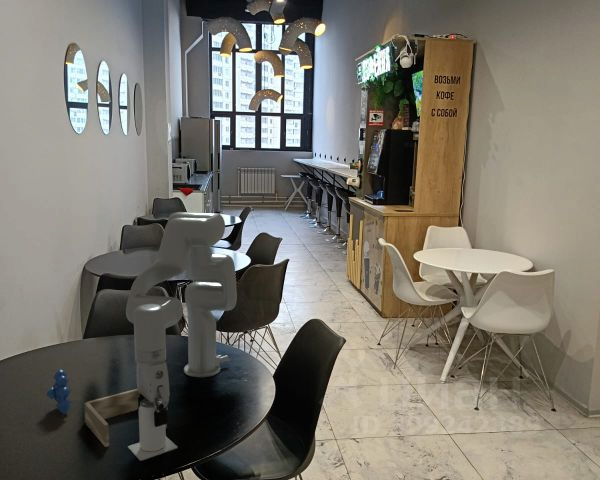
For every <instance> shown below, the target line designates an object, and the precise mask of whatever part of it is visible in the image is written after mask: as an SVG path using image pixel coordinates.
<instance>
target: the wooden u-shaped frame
mask: <svg viewBox="0 0 600 480" xmlns="http://www.w3.org/2000/svg"><path fill="white" fill-rule="evenodd" d="M137 392H138V389H137V388H135V389H134V388H133V389H132V390H127V391H123V392H120V393H116V394H112V395H108V396H105V397H100V398H97V399H93V400H89V401H86V402H83V410H84V411H83V412H84V424H85V423H86V424H85V425H86V426H87V428H89V430H90V429H91V430H90V431H91V432H92V433H93V435H94V436H95V437H96V438H97V439H98V440H99V441H100V443H101V444H102V445H103V446H104V448H107V447H109V446H110V431H109V427H110V426H109V423H108V422H107V421H106V419H110V418H114V417H116V416H120V415H124V414H127V413H131V412H134V411H137V409H138V397H140V396H138V395H137ZM130 411H131V412H130ZM165 428H166V429H167V428H168V423H167V424H165Z"/></svg>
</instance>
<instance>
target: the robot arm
mask: <svg viewBox="0 0 600 480" xmlns="http://www.w3.org/2000/svg"><path fill="white" fill-rule="evenodd" d="M167 219H168V220H167V223H166V224H165V227H164V231H163V234H162V237H161V242H160V246H159V250H158V253H157V257H156V260H155V261H154V262H152V264H150V265H148V266H147V267H146V268H145V269H144V270H143V271H141V273H140V274H138V276H137V277H136V278H135V280H134V281H133V283H132V286H131V288H130V291H129V295H128V298H127V301H126V302H127V303H126V307H125V316H126V319H127V320H128V321H129V322H130V323H132V324H133V333H134V334H133V337H134V338H133V339H134V361H135V363H136V375H135V381H136V389H138V392H137V395H138V396H140V397H138V411H137V412H139V407H140V402H141V401H142V400H144V399H148V400H149V401H150V402H153V404H154V407H155V411H154V426H155V427H158V426H161V425H164V424H167V425H168V409H169V408H168V407H169V405H170V404H169V402H170V395H171V394H170V380H169V371H168V365H167V361H166V360H167V339H166V336H167V335H166V329H169V328H170V327H173V326H175V325H176V324H178V323H179V321H180V320H181V319H182V317H183V313H184V306H183V303H182V301H181V300H180V299H178V298H177V297H173V296H159V295H146V294H147V293H148V291H149V290H150V289H152V288H153V287H154V286H156V285H157V284H159V283H162V282H165V281H168V280H170V279H172V278H175V277H178V276H180V275H182V274H183V273H185V272H186V274H187V278H188V279H189V280H190V281H192V282H191V283H189V284H188V285H187V286H186V288H185V291H184V301H185V307H186V312H187V339H188V340H187V343H188V344H187V346H188V348H187V351H188V353H187V354H188V355H187V356H188V363H187V364H186V365H185V366H184V368H183V372H184V374H186V375H187V376H189V377H193V378H206V377H207V378H208V377H212V376H215V375H218V374H219V373H220V372H221V370H222V369H221V363H224V362H228V361H229V358H230V357H229V356H228V355H223V356H222V354H217V320H216V318H215V315H214V314H213V313H212V311H222V312H223V311H224V312H225V311H227V312H228V311H232V310H233V309H235V307H236V305H237V301H238V291H237V290H238V289H237V278H236V275H237V274H236V265H235V260H234V259H233V257H232V256H231V255H229V254H225V253H223V254H222V253H212V251H211V249H212V247H213V246H215V245H216V244H218V243H219V241H221V240H222V239H223V236H224V235H225V230H226V222H225V219H224V217H223V216H222V214H220V213H216V212H215V213H214V212H194V211H193V212H192V211H190V212H189V211H185V212H183V211H177V212H173V213H171V214H170V215H169V217H168V218H167ZM156 397H157V398H158V399H155V398H156ZM159 401H162V404H160V405H159V407H158V404H157V402H159Z"/></svg>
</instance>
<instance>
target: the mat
mask: <svg viewBox="0 0 600 480" xmlns="http://www.w3.org/2000/svg"><path fill="white" fill-rule="evenodd" d="M127 448H128V450H129V451H130V452H131V453H132V454H133V455H134V456H135V458H137V459H138V460H139V461H140V462H141V461H145V460H148V459H150V458H153V457H157V456H159V455H162V454H164V453H167V452H171V451H173V450H176V449H178V445H176V444H175V443H174V442H173V441H172V440H170V438H168V436H166V444H165V446H164V447H163V448H162V449H161V450H158V451H155V452H146V451H144V450H142V449H141V448H140V441H139V442H137V443H133V444H131V445H127Z"/></svg>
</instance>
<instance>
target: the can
mask: <svg viewBox="0 0 600 480" xmlns="http://www.w3.org/2000/svg"><path fill="white" fill-rule="evenodd" d="M158 398H159V397H156V398H155V399H158ZM157 404H158V407H159V405H160V404H162V401H159V402H157ZM154 411H155V407H154V404H153V402H150V401H149V400H148V399H144V400H142V401H141V402H140V407H139V411H138V426H139V427H138V431H139V442H140V448H141V449H142V450H144V451H146V452H155V451H158V450H161V449H162V448H163V447H164V446H165V444H166V437H167V433H166V429H167V428H165V424H164V425H161V426H158V427H155V426H154Z"/></svg>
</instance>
